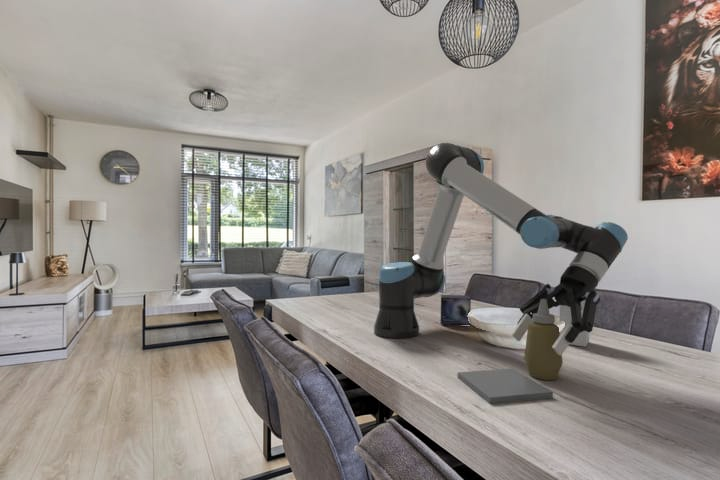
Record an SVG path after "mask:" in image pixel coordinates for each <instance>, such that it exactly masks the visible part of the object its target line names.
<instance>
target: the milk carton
mask: <svg viewBox="0 0 720 480" xmlns="http://www.w3.org/2000/svg"><path fill="white" fill-rule="evenodd" d="M584 305H585V300H584V301H582V302H581V309H582V310H581V316H582V315H583V310H584ZM558 308H559V310H558V311H559V312H558V313H559V317H558V318H559V319H558V320H559V322H561V321H564V322H565V327H566V326H567V324H569V325H571V326H573V325H572V324H571V323H572V319H571V309H570V307H568V306H566V305H563V306H562V305H559V306H558ZM562 317H563V318H562ZM570 322H571V323H570ZM565 327H564V328H563V330H564V329H565ZM563 330H562V331H563ZM562 331H561V332H560V334H561V333H562ZM589 343H590V332H587V331H583V332H581V333H579V334H578V336H577V337H576V339H575V340H574V342H572V343H570V344H569V346H570V345H571V346H577V347H584V348H585V347H586V348H587V345H588V344H589Z"/></svg>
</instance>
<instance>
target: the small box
mask: <svg viewBox="0 0 720 480" xmlns="http://www.w3.org/2000/svg"><path fill="white" fill-rule="evenodd" d="M471 300H472V299H471V297H470V295H462V294H461V295H460V294H440V321H441V322H440V321H439V322H440V325H441V324H443V325H442V326H447V325H470V326H471V322H470V323H469V321H468V317H467V315H468V313H469V312H470V311H471V308H472V307H471V305H472V304H471V303H472V301H471ZM471 312H472V311H471Z"/></svg>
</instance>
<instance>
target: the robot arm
mask: <svg viewBox="0 0 720 480" xmlns="http://www.w3.org/2000/svg"><path fill="white" fill-rule="evenodd" d="M484 163H485V162H484V160H483V158H482V156H481V154H480V153H478V152H477V151H475V150H473V149H471V148H469V147H464V146H461V145H457V144H454V143H449V142H442V143H438V144H436V145H434V146H433V147H432V148H431V149H429V151H428V153H427V156H426V159H425V169H426V170H427V172H428V174H429V175H430V176H431V177H432V178H433V179H434V180H436V182H435V184H436V186H437V188H438V190H437V193H436V197H435V200H434V203H433V206H432V209H431V212H430V216H429V218H428V222H427V225H426V227H425V231H424V234H423V237H422V240H421V243H420V247H419V249H418V253H417V254H414V255H413V256H412V258H411V261H410V262H408V261H398V262H391V263H386V264H383V265H382V266H380V268H379V273H378V275H379V277H378V280H379V281H378V287H379V288H378V292H379V293H378V296H379V297H378V298H379V300H378V303H379V307H378V311H377V312H378V313H377V315H376V319H375V322H374V325H373V330H374V331H373V333H374V334H375V335H376V334H377V335H376V336H379V335H380V336H379V337H382V336H384V337H383V338H388V339H409V337H410V338H414V337H417V336H419V334H420V326H419V323H418V319H417V316H416V312H415V299H420V298H430V297H432V296H435V295H437V294H439V293H440V292H441V291H442V290H443V288H444V286H445V285H446V284H445V283H446V275H445V272H444V269H445V265H444V263H443V262H442V260H443V257H444V254H445V252H446V250H447V247H448V244H449V241H450V237H451V235H452V232H453V228H454V226H455V223H456V220H457V217H458V214H459V211H460V208H461V205H462V203H463V199H464V197H466V198H468V199H470V200H471V201H472V202H473V203H475V204H476V205H478V206H479V207H480V208H481V209H483V210H484V211H486V212H488V214H490V215H491V216H493V217H494V218H496V219H497V220H499V221H500V222H502V223H503V224H504V225H506V226H507V227H509V228H510V229H511V230H513V231H514V232H516V233H517V234H519V235H520V238H521V240H522V241H523V243H524V244H525V245H526V246H529V247H530V248H535V249H538V250H540V249H541V250H542V249H549V248H550V249H552V248H562V249H565V250H568V251H571V252H573V253H576V255H575V256H574V258H573V259H572V261H571V262H570V263H569V265H568V267H566V269H565V270H564V271H563V273H562V275H561V276H560V279H559V283H558V285H556V286H552V285H550V284H549V283H547V284H545V285H544V286H543V288H542V289H541V290H540V291H538V292H537V293H536V294H535V295H533V297H531V298H530V299H528V301H526V302H525V303H524V304H523V305H521V306H520V307H519V311H520V313H522V316H521V317H520V318H519V320H518V321H517V325H516V326H515V327H514V329H513V330H512V331H511V332H510V335H512V337H513V338H514V339H515V341H516V342H520V341H521V340H522V338H523V337H524V336H525V334H527V331H528V325H529V324H530V323H531V322H534V321H533V314H534V313H538V309H539V304H540V300H541V299H546V300H547V304H548V309H549V310H550V309H552V308H554V307H555V308H558V307H560V305H562V306H563V305H566V306H568V307H570V309H571V319H572V323H571V322H570V323H571V324H572V325H573V326H571V325H569V324H567V326H566V327H565V329H564V330H563V331H562V333H561V334H560V336H559V337H558V339H557V340H556V342H555V343H554V345H553V346H552V348H553V349H554V350H555V351H556V353H557V354H558V355H560V356H561V355H562V356H563V354H564V352H565V351H566V350H567V348H568V347H569V346H570V343H572V342H574V340H575V339H576V337H577V336H578V334H579V333H581V332H583V331H587V332H589V333H592V332H593V328H594V323H595V317H596V311H597V305H598V304H599V303H600V301H601V297H600V296H599V294H598V293H597V291H596V289H597V287H598V285H599V283H600V282H601V280H602V279H603V277H604V276H605V275H606V273H607V272H608V270H609V269H610V267H611V266H612V264H613V263H614V262H615V260H616V259H617V257H618V256H619V254H621V252H622V250H623V248H624V246H625V244H626V243H627V240H628V239H629V237H628V233H627V230H625V229H624V228H623V227H622V226H621V225H619V224H617V223H615V222H611V221H609V222H605V221H603V222H601V223H599V224H598V225H596V226H595V227H593V226H590V225H585V224H582V223H579V222H577V221H573V220H570V219H567V218H565V217H562V216H558V215H554V214H546V213H544V212H542V211H540V210H539V209H537V208H536V207H534V206H532V205H531V204H530V203H528V202H527V201H525V200H524V199H522V198H520V197H519V196H517V195H516V194H514V193H513V192H511V191H510V190H507V189H506V188H505V187H503V186H501V185H500V184H498V183H497V182H496V181H494V180H492V179H491V178H490V177H487V175H484V171H485V164H484ZM584 300H585V305H584V310H583V315H582V316H581V310H582V309H581V302H582V301H584ZM413 336H414V337H413Z"/></svg>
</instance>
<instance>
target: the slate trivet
mask: <svg viewBox="0 0 720 480" xmlns="http://www.w3.org/2000/svg"><path fill="white" fill-rule="evenodd" d="M457 378H458V379H459V380H460V381H461V382H462V383H464V385H466V386H467V387H469V389H471V390H472V391H474V392H475V394H477V395H478V396H480V397H481V398H482V399H483V400H484V401H486V402H487V403H488V404H500V403H509V402H510V403H511V402H512V403H513V402H520V401H521V402H523V401H531V400H542V399H543V400H544V399H553V398H554V391H552V390H551V389H549V388H547V387H545V386H544V385H542V384H540V383H538V382H537V381H535V380H533V379H531V378H529V377H528V376H526V375H524V373H521V372H520V371H518V370H515V368H499V369H488V370H487V369H485V370H474V371H473V370H471V371H470V370H469V371H459V372H457Z"/></svg>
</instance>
